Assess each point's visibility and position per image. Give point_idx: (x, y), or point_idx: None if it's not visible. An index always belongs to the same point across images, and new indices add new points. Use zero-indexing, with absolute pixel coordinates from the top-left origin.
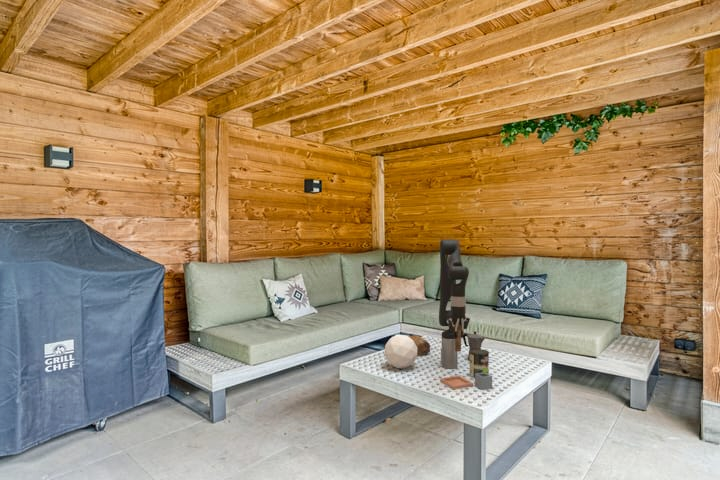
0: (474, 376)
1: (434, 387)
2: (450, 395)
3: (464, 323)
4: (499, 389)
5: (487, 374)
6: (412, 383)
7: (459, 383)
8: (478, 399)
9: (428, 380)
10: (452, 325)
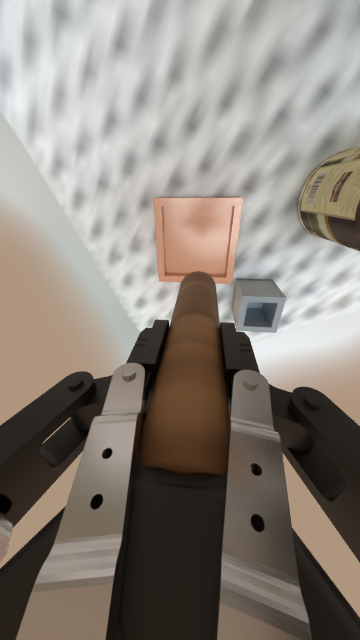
0: (302, 214)
1: (121, 227)
2: (139, 295)
3: (344, 492)
4: (284, 316)
5: (275, 317)
6: (58, 155)
7: (205, 247)
8: None
9: (127, 147)
10: (97, 422)
